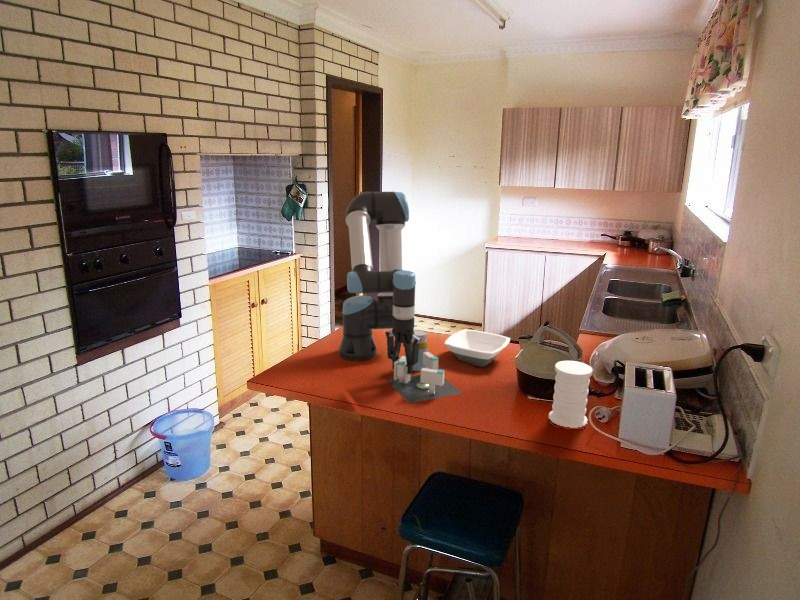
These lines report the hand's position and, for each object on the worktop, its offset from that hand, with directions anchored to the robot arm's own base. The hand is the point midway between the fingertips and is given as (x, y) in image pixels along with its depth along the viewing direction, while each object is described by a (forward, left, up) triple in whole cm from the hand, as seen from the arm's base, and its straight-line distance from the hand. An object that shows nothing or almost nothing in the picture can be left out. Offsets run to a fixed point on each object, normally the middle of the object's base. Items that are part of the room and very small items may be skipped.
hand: (402, 379), depth 194 cm
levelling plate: (+6, +5, -2) cm, 8 cm away
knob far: (0, +11, -1) cm, 11 cm away
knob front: (+12, +5, -1) cm, 13 cm away
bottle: (-10, +11, -2) cm, 15 cm away
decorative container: (+43, +37, -2) cm, 57 cm away
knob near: (0, 0, -1) cm, 1 cm away
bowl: (-10, +37, -2) cm, 38 cm away
